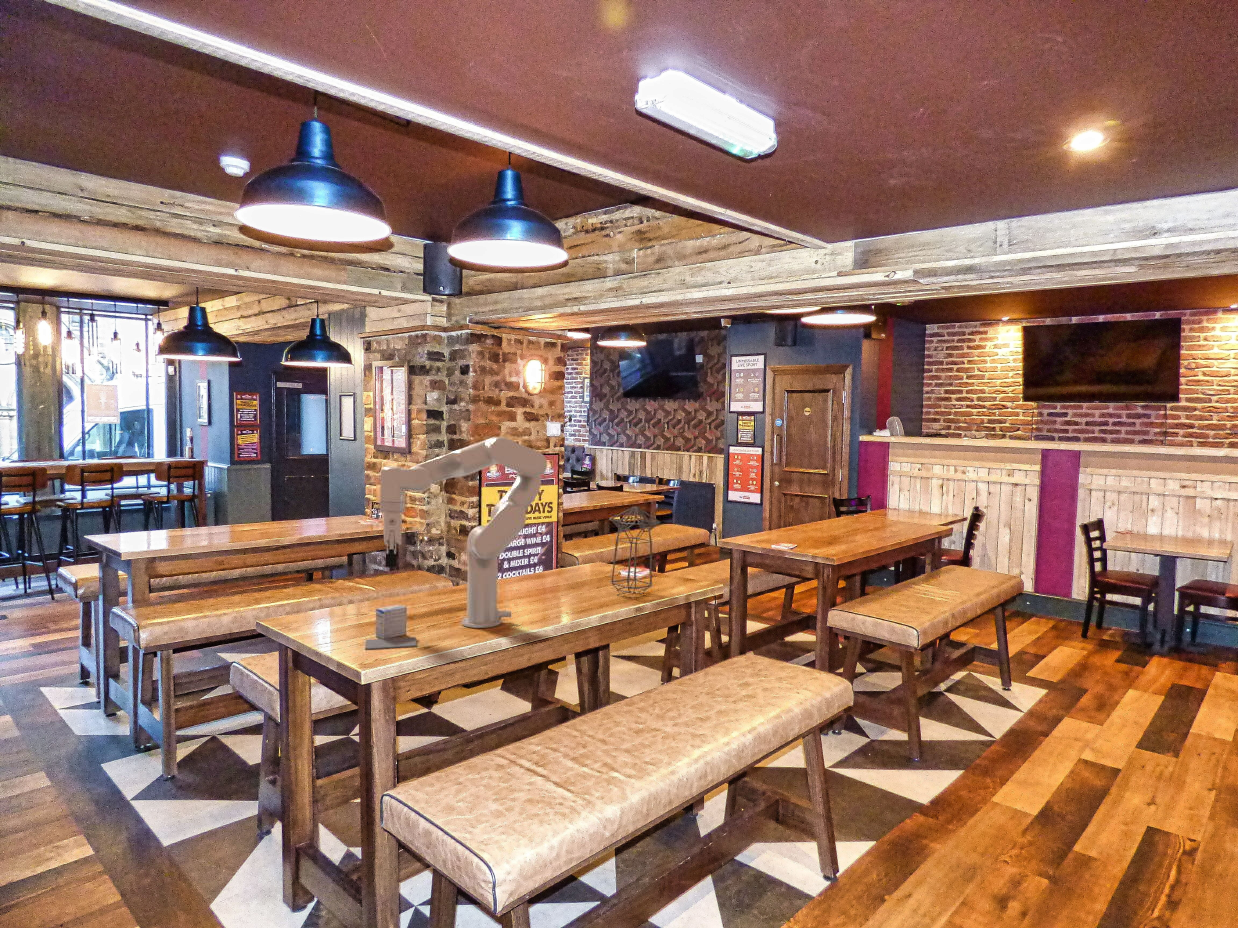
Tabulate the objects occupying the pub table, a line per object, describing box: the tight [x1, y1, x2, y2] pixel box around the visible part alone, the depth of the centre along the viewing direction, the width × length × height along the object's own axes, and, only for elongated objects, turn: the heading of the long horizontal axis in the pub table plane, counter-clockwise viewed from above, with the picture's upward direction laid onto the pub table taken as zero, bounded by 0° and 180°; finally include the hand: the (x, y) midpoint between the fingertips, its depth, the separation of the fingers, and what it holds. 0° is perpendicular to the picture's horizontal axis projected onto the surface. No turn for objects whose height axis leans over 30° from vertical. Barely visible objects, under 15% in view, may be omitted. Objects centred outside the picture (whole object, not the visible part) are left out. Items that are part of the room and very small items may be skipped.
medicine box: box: [375, 604, 408, 639], centre depth 217 cm, size 8×4×9 cm, turn 141°
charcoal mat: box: [364, 636, 418, 651], centre depth 209 cm, size 14×9×1 cm, turn 108°
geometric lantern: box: [608, 506, 661, 594], centre depth 281 cm, size 16×16×35 cm
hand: (390, 566), depth 223 cm, fingers closed
